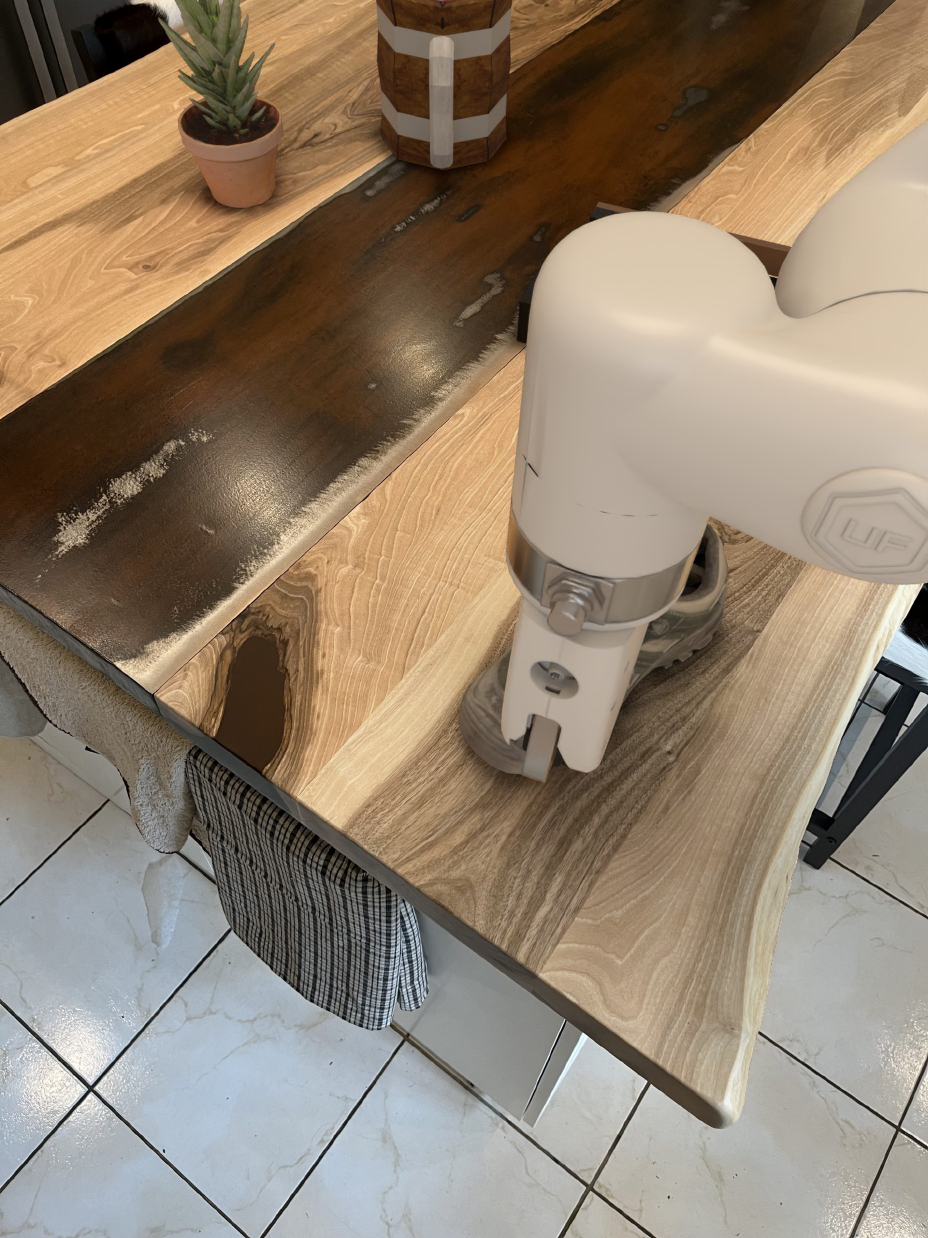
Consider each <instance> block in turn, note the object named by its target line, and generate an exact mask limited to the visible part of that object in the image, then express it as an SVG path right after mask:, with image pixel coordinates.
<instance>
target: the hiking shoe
mask: <svg viewBox="0 0 928 1238" xmlns="http://www.w3.org/2000/svg"><path fill="white" fill-rule="evenodd" d="M725 542H726V541H725V540H724V539H723V535H721V533H720V532H719V531H718V530H717V529H716V528H714V527H713V526H712V525H711V524H709V523H707V526H706V528H705V531H704V534H703V537H702V540H701V542H700V545H699V548H698V551H697V554H696V556H695V559H694V562H693V565H692V567H691V570H690V573H689V576H688V579H687V581H686V584H685V587H684V589H683V591H682V593H681V595H680V596H679V598H678V599H677V601H676V603H675V604H674V605H673V606H672V607H671V608H670V609H669V610H668V611H667V612H665V613H664V614H663V615H661V616H660V617H658V618H657V619H655V620H653V621H651V622H649V624H648V627H647V630H646V633H645V636H644V639H643V643H642V646H641V649H640V652H639V655H638V658H637V661H636V663H635V666H634V669H633V672H632V675H631V678H630V681H629V684H628V687H627V690H626V693H625V696H624V699H623V701H622V704H621V706H623V704H624V703H625V701H626V699H627V698H628V696H629V695H630V693H631V692H632V690H633V689H634V688H635V687H636V686H637V685H638V684H639V683H640V682H641V681H642V680H643V678H645V677H646V676H647V675H648V674H649V673H650V672H652V671H653V670H654V669H656V668H660V667H663V669H665V670H667V669H668V668H670V667H672V665H673V662H674V661H676V660H679V661H680V662H681V663H682V662H683V663H684V662H685V661H686V660H687V659H689V658H691V657H692V656H693V650H701V649H704V648H705V647H706V646H707V645H708V644H709V643H710V642H711V641H712V640H713V636H714V635H713V634H714V633H715V632H717V631H718V630H719V629H720V626H721V625H722V622H723V618H724V613H725V603H726V600H727V591H728V589H727V583H728V581H729V579H730V576H729V563H728V560H727V556H726V554H725V550H724V546H725ZM512 645H513V642H511V643H510V645H509V647H508V649H507V650H506V651H504V652H503V653H502V654H501V655H500V656H499V657H498V658H497V659H496V660H494V661H493V662H492V663H491V664H489V665H488V666H487V667H486V668H484V669H483V670H482V671H481V672H480V674H479V675H478V676H477V677H476V678H475V679H474V680H473V681H472V682H471V684H469V686H468V687H467V688H466V690H465V692H464V694H463V695H462V698H461V701H460V705H459V709H458V717H457V723H458V726H459V729H460V731H461V734H462V737H463V738H464V740H465V741H466V743H467V744H468V745H469V746H470V748H471V749H472V751H473V752H474V753H475V754H476V755H477V756H478V757H479V758H481V759H482V760H483V761H484V762H485V763H486V764H488V765H489V766H491V767H492V768H495V769H497V770H499V771H502V772H504V773H506V774H517V775H518V774H519V775H521V771H522V767H523V763H524V759H525V754H526V751H524V750H523V748H522V746H523V740H524V735H523V736H521V737H520V738H519V739H518V741H517V743H515V742H512V743H511V744H510V745H508V744H507V742H506V741H505V739H504V737H503V734H502V730H501V718H502V708H503V700H504V693H505V686H506V680H507V674H508V668H509V662H510V656H511V651H512Z"/></svg>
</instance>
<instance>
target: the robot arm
mask: <svg viewBox="0 0 928 1238" xmlns="http://www.w3.org/2000/svg"><path fill="white" fill-rule="evenodd" d="M727 232H728V231H726V230H724V229H722V228H719V227H717V226H716V225H713V224H711V223H709V222H706V221H703V220H700V219H698V218H694V217H690V216H687V215H682V214H677V213H671V212H663V211H647V210H645V211H641V212H628V213H621V214H614V215H610V216H607V217H604V218H601V219H598V220H595V221H593V222H590V223H589V222H588V223H584V224H583V225H581V226H579V227H578V228H576V229H574V230H572V231H571V232H569V234H567V235H566V236H565V237H564V238H562V239H561V240H560V241H559V242H558V243H557V244H555V246H554V247H553V249H552V250H551V251H550V252H549V254H547V256H548V257H547V256H546V257H547V258H546V257H545V258H546V260H545V259H544V260H545V261H544V260H543V262H544V263H543V262H542V263H543V265H542V264H541V265H542V267H541V266H540V267H541V269H540V272H539V274H538V277H537V279H536V282H535V285H534V290H533V296H532V302H531V308H530V314H529V324H528V334H527V343H526V345H525V354H524V355H525V356H524V367H523V378H522V386H521V387H522V388H521V398H520V409H519V419H518V428H517V430H518V431H517V437H516V447H515V456H514V466H513V467H514V468H513V474H512V485H511V492H510V493H511V495H510V504H509V515H508V523H507V524H508V525H507V535H506V537H507V538H506V543H505V561H506V566H507V570H508V573H509V575H510V578H511V580H512V582H513V584H514V586H515V587H516V588H517V590H518V591H519V593H520V595H521V600H520V603H519V604H520V605H519V610H518V614H517V620H516V623H515V626H514V629H513V640H512V643H513V645H512V651H511V656H510V662H509V668H508V674H507V680H506V686H505V693H504V700H503V708H502V718H501V730H502V734H503V737H504V739H505V741H506V742H507V744H508V745H510V744H511V743H512V742H515V743H517V741H518V739H519V738H520V737H521V736H523V735H524V740H523V746H522V748H523V750H524V751H526V754H525V759H524V763H523V767H522V771H521V774H520V775H521V776H523V777H526V778H529V779H531V780H535V781H537V782H539V783H543V784H545V783H546V781H547V779H548V776H549V773H550V771H551V769H552V767H555V768H558V767H561V766H564V767H567V768H569V769H571V770H574V771H577V772H582V773H586V774H587V773H590V772H593V771H594V770H595V769H597V768H598V767H599V766H600V764H601V762H602V760H603V758H604V755H605V752H606V749H607V746H608V744H609V741H610V738H611V735H612V733H613V729H614V726H615V725H616V721H617V719H618V716H619V712H620V711H621V707H622V705H623V704H622V701H623V699H624V696H625V693H626V690H627V687H628V684H629V681H630V678H631V675H632V672H633V669H634V666H635V663H636V661H637V658H638V655H639V652H640V649H641V646H642V643H643V639H644V636H645V633H646V630H647V627H648V624H649V622H651V621H653V620H655V619H657V618H658V617H660V616H661V615H663V614H664V613H665V612H667V611H668V610H669V609H670V608H671V607H672V606H673V605H674V604H675V603H676V601H677V599H678V598H679V596H680V595H681V593H682V591H683V589H684V587H685V584H686V581H687V579H688V576H689V573H690V570H691V567H692V565H693V562H694V559H695V556H696V554H697V551H698V548H699V545H700V542H701V540H702V537H703V534H704V531H705V528H706V526H707V524H709V520H710V518H711V519H714V520H716V521H718V522H720V523H722V524H724V525H727V526H728V527H730V528H732V529H734V530H736V531H738V532H741V533H743V534H745V535H747V536H749V537H751V538H753V539H755V540H757V541H759V542H761V543H763V544H765V545H768V546H769V547H771V548H774V549H775V550H778V551H780V552H782V553H784V554H787V555H788V556H790V557H793V558H795V559H797V560H799V561H802V562H804V563H807V564H809V565H812V566H814V567H817V568H819V569H822V570H824V571H827V572H830V573H833V574H836V575H839V576H844V577H847V578H851V579H854V580H857V581H862V582H867V583H874V584H883V585H893V586H896V585H897V586H907V585H921V584H927V583H928V118H927V119H925V120H924V121H922V122H921V123H920V124H918V125H917V126H915V128H913V129H912V130H911V131H909V132H908V133H907V134H905V135H904V136H903V137H902V138H900V139H899V140H898V141H896V142H895V143H894V144H893V145H891V146H890V147H889V148H888V149H886V150H885V151H883V152H882V153H881V154H879V156H878V157H876V158H875V159H874V160H872V161H871V162H869V163H868V164H867V165H866V166H865V167H864V168H862V169H861V170H860V171H858V172H857V173H856V174H855V175H854V176H853V177H851V178H850V179H849V180H848V181H846V183H844V185H843V186H841V188H839V189H838V190H837V191H836V192H835V193H834V194H833V195H832V196H831V197H830V198H829V199H828V200H827V201H826V202H825V203H824V204H823V205H822V206H821V207H820V208H819V209H818V210H817V211H816V213H815V214H814V215H813V217H812V218H810V220H809V221H808V222H807V224H806V225H805V226H804V227H803V228H802V230H801V231H800V233H798V235H797V236H796V238H795V240H794V241H793V243H792V245H791V246H790V247H791V249H790V251H789V252H788V254H787V256H786V258H785V260H784V262H783V264H782V266H781V269H780V272H779V275H778V277H776V278H777V282H776V286H775V290H774V286H773V284H772V282H771V280H770V277H769V276H770V275H768V273H767V271H766V269H765V267H764V265H763V264H762V263H761V261H760V260H759V259H758V257H757V256H756V255H755V254H754V253H753V252H752V251H751V250H750V249H748V248H747V247H746V246H745V245H744V244H743V243H741V242H740V241H739V240H738V239H736V238H735V237H733V236H732V235H730V234H729V233H727ZM621 704H622V705H621Z"/></svg>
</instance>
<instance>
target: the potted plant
mask: <svg viewBox="0 0 928 1238" xmlns="http://www.w3.org/2000/svg"><path fill="white" fill-rule="evenodd" d="M174 2H175V4H176V6H177V8H178V10H179V12H180V18H181V20H182V23H183V26H184V28H185V29H186V32H187V34H188V36H189V38H190V39H191V41H192V43H193V44H192V43H190V41H188V40H187V39H186V38H184V37H183V36H182V35H180V34H179V33H178V32H177V31H175V30H174V29H173V28H172V27H171V26H170V25H169V24H167V22H165V21H164V20H163V19H162V18H160V17H158V22H159V23H160V25H161V27H162V28H163V29H164V31H165V34H166V35H167V37H168V39H169V40H170V42H171V43H172V45H173V46H174V48H175V50H176V51H177V53H178V54H179V56H180V57H181V58H182V60H183V61H184V62H185V64H186V65H187V66H188V67H189V69H190V71H192V74H191V75H189V74H187V73H185V72H184V71H182V70H181V69H177V71H178V73H179V74H177V78H178V79H180V81H181V82H183V84H184V85H186V86H187V87H189V88H190V90H192V91H194V92H196V93H197V94H199V95H200V96H202V97H203V98H201V99H199V100H195V99H194V98H191V97H189V98H188V100H189V101H190V102H191V103H190V104H188V105H187V106H186V107H185V108H184V109H183V110H182V111H181V112H180V114H179V115H178V118H177V127H178V132H179V135H180V138H181V141H182V144H183V146H184V147H185V149H186V150H187V151H188V152H189V153H191V155H192V156H193V158H194V160H195V162H196V165H197V166H198V169H199V170H200V172H201V174H202V176H203V178H204V180H205V182H206V184H207V186H208V188H209V190H210V192H211V195H212V197H213V199H214V200H215V201H217V202H218V203H219V204H220V205H221V204H222V205H223V206H226V207H229V208H238V209H239V208H241V209H244V208H245V209H246V208H251V207H254V206H255V207H256V206H258V205H262V204H264V203H266V202H267V201H269V200H270V199H271V198H272V196H273V194H274V193H275V192H274V191H275V188H276V176H275V175H276V165H277V161H278V160H277V159H278V155H279V154H278V152H279V146H280V142H281V141H282V140H283V138H284V137H283V136H284V132H285V131H284V123H283V119H282V113H281V111H280V110H279V107H278V106H277V105H276V104H275V103H273V102H272V101H271V100H269V99H267V98H265V97H262V96H260V95H259V94H258V93H259V92H258V91H255V90H256V85H257V84H258V80H259V78H260V76H261V71H262V69H263V66H264V63H265V62H266V60H267V59H268V58H269V56H270V54H271V53H272V51H273V50H274V48H275V46H276V42H273V43H272V44H271V45H270V46H269V47H268V49H267V50H266V51H265V52H264V54H262V56H260V58H259V59H258V61H256V63H255V64H254V65H253V62H254V58H255V56H256V55H255V54H256V52H255V51H252V53H250V55H249V57H248V58H247V59H246V60H245V61H244V62H242V64H240V60H241V57H242V55H243V51H244V48H245V44H246V40H247V35H248V29H249V21H250V16H249V13H247V14H246V16H245V17H244V18H245V19H244V21H243V22H242V16H243V15H242V14H243V13H242V12H243V11H242V8H241V0H222V5H221V8H220V0H174ZM252 65H253V66H252Z"/></svg>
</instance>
